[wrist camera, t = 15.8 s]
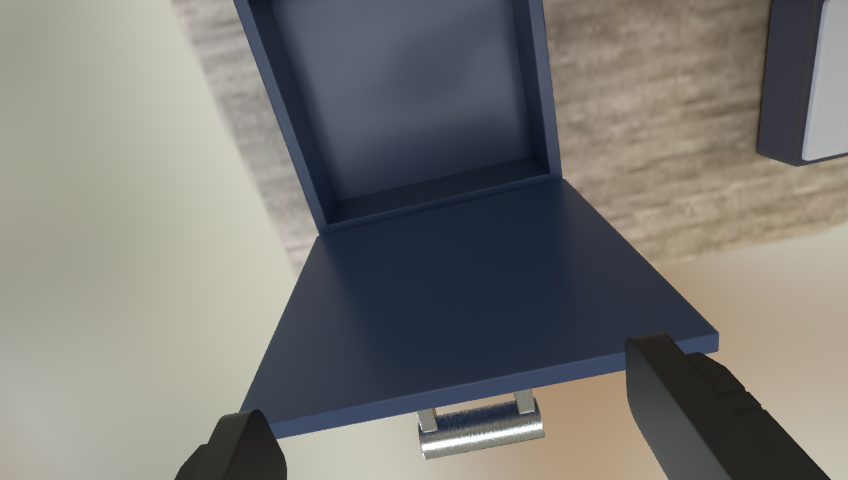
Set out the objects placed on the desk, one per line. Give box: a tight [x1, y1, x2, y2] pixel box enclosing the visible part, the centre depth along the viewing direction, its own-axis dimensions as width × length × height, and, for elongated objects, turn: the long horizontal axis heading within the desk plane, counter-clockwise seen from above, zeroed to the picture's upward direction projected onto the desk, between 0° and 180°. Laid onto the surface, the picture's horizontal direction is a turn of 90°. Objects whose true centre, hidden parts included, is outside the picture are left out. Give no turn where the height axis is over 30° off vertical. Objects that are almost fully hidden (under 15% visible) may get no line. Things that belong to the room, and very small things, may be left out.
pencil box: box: [233, 0, 563, 235], centre depth 30 cm, size 16×17×5 cm
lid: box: [239, 179, 719, 460], centre depth 24 cm, size 16×17×5 cm
